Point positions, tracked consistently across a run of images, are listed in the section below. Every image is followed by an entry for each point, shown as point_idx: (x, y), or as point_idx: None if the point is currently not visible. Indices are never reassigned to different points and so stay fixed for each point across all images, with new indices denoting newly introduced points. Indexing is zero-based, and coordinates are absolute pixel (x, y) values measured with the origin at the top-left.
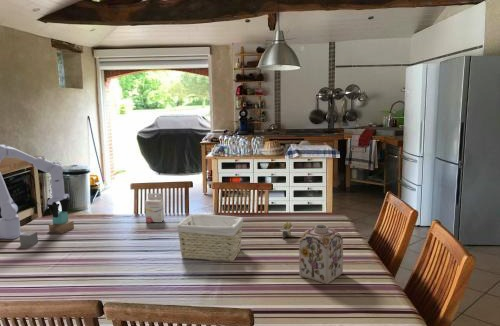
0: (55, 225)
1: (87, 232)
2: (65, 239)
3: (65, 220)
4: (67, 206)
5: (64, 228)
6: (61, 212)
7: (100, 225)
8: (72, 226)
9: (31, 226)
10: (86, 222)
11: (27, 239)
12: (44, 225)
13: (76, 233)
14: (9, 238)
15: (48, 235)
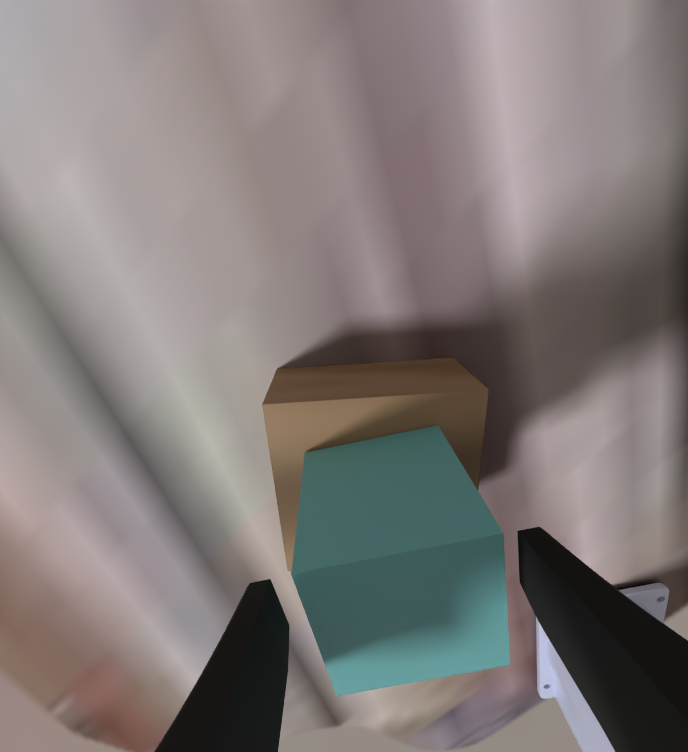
0: (475, 474)
1: (362, 21)
2: (673, 113)
3: (366, 456)
4: (205, 728)
5: (426, 373)
6: (380, 618)
7: (27, 88)
8: (296, 376)
9: None
10: (63, 391)
11: None
12: None
13: (438, 165)
14: (662, 607)
15: (549, 420)
